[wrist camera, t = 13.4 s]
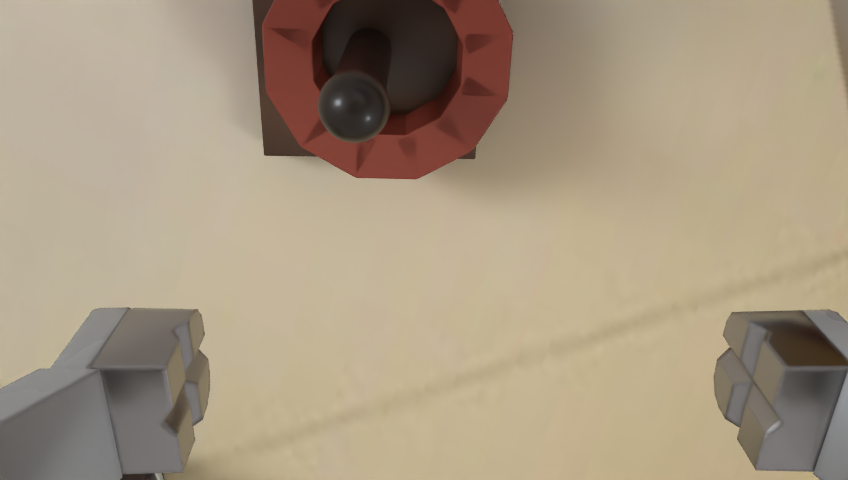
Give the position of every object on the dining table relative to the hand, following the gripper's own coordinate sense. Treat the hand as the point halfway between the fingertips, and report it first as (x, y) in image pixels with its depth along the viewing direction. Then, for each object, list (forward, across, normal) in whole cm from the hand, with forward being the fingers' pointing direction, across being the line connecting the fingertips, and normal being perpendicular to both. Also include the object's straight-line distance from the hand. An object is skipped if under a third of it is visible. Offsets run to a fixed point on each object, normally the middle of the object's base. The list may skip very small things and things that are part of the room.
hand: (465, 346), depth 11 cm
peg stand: (+25, +2, 0) cm, 25 cm away
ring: (+24, +2, 0) cm, 24 cm away
